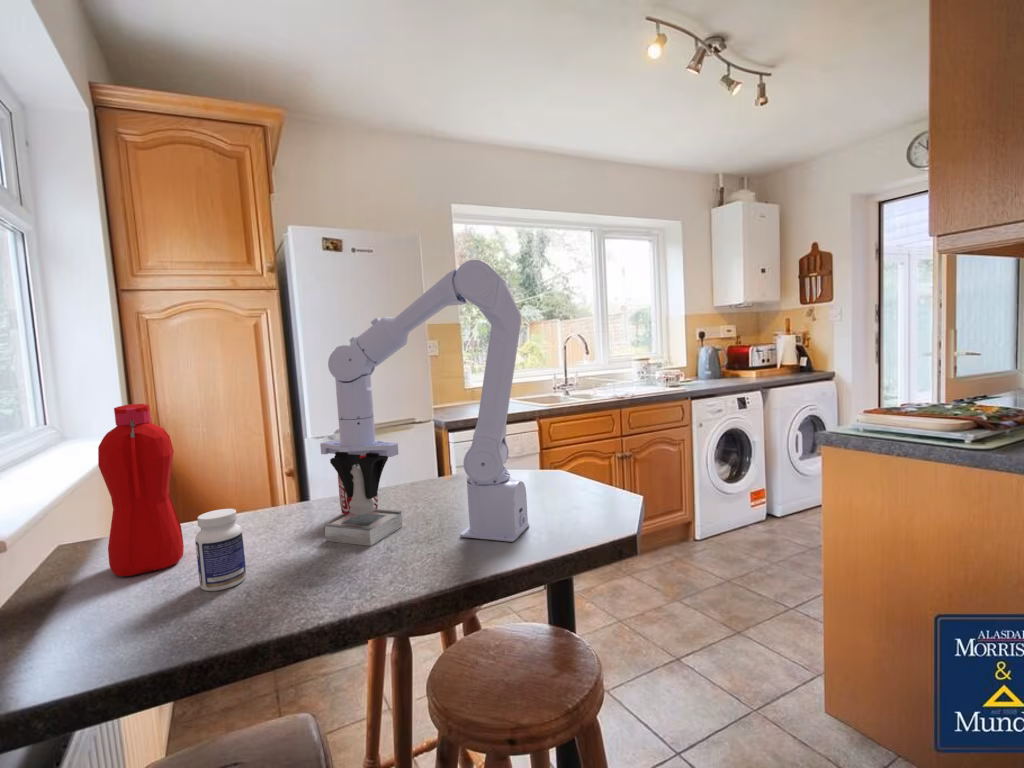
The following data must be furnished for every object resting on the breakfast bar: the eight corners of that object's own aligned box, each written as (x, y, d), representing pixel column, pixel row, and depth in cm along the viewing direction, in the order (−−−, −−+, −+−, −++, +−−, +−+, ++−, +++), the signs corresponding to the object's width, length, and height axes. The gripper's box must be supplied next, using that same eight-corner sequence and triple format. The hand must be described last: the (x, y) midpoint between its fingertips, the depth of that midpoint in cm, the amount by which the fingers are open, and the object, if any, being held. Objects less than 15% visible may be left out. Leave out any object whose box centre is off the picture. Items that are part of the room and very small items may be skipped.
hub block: (402, 526, 92) (401, 510, 91) (370, 546, 83) (369, 528, 83) (360, 522, 95) (359, 507, 95) (326, 540, 87) (324, 524, 86)
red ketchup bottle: (106, 588, 73) (85, 411, 71) (115, 562, 82) (97, 405, 80) (184, 570, 78) (166, 404, 76) (184, 548, 87) (168, 399, 85)
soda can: (373, 518, 97) (368, 455, 96) (335, 520, 97) (330, 457, 96) (383, 506, 104) (378, 447, 103) (348, 508, 104) (343, 449, 103)
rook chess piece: (361, 517, 86) (358, 470, 85) (343, 513, 88) (340, 467, 87) (381, 509, 89) (379, 463, 89) (364, 505, 92) (361, 461, 91)
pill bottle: (256, 576, 74) (249, 507, 74) (222, 594, 69) (214, 521, 68) (225, 572, 76) (218, 505, 76) (190, 590, 71) (182, 519, 70)
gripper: (305, 420, 87) (311, 500, 88) (377, 421, 81) (384, 506, 82) (333, 414, 93) (339, 489, 94) (403, 414, 88) (408, 493, 89)
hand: (362, 496), depth 89 cm, fingers closed on rook chess piece, 3 cm apart
